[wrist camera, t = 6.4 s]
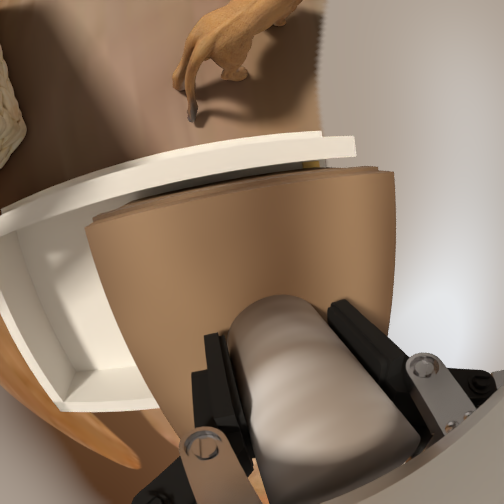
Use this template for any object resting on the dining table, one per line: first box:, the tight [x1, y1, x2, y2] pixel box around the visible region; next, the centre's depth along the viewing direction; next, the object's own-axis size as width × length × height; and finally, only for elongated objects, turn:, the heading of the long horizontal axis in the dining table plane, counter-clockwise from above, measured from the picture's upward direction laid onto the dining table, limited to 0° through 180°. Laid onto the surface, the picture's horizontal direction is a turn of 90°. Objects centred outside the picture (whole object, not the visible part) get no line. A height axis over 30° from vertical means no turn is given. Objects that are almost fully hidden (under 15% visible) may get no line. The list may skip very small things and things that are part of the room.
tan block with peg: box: [84, 166, 421, 504], centre depth 11 cm, size 12×12×15 cm
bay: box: [0, 131, 356, 412], centre depth 16 cm, size 25×17×5 cm
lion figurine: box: [172, 0, 302, 123], centre depth 11 cm, size 15×5×9 cm, turn 157°
